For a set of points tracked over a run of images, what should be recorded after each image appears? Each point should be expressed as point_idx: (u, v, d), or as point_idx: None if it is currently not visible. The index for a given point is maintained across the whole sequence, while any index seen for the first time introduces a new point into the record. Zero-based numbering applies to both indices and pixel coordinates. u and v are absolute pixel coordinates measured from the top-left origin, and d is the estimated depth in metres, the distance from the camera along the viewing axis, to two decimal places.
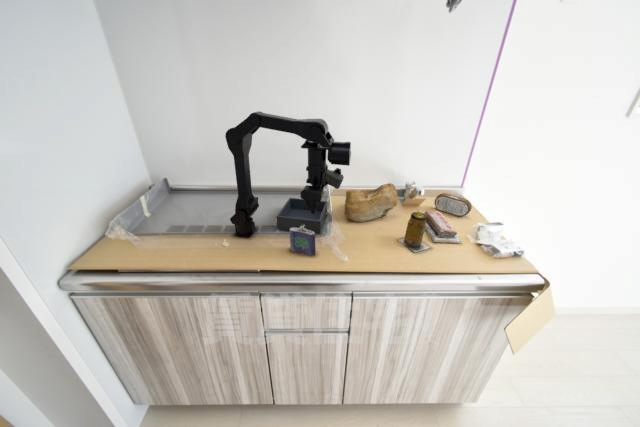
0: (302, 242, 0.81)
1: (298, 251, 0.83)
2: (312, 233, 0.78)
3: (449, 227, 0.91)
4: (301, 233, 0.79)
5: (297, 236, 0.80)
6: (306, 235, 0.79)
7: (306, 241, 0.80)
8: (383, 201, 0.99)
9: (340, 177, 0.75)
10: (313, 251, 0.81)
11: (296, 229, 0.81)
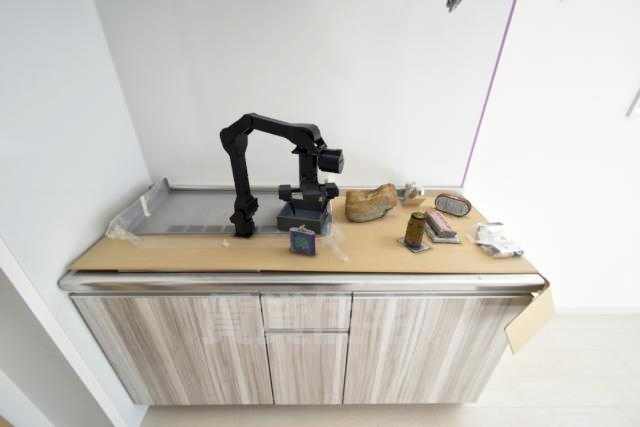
0: (302, 242, 0.81)
1: (298, 251, 0.83)
2: (312, 233, 0.78)
3: (449, 227, 0.91)
4: (301, 233, 0.79)
5: (297, 236, 0.80)
6: (306, 235, 0.79)
7: (306, 241, 0.80)
8: (383, 201, 0.99)
9: (311, 192, 0.67)
10: (313, 251, 0.81)
11: (296, 229, 0.81)
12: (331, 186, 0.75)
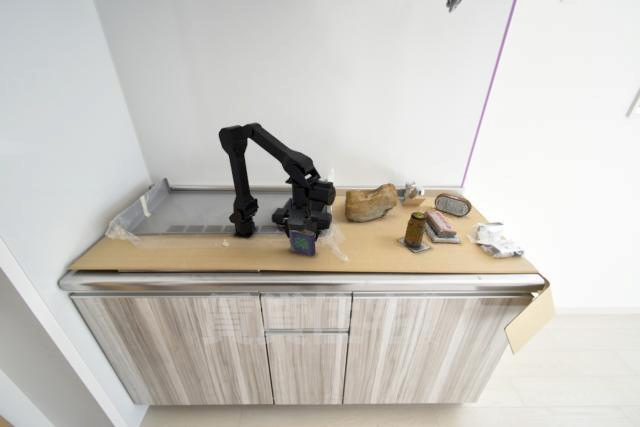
0: (302, 243, 0.81)
1: (298, 251, 0.83)
2: (312, 234, 0.78)
3: (449, 227, 0.91)
4: (301, 234, 0.79)
5: (297, 236, 0.80)
6: (306, 236, 0.78)
7: (306, 242, 0.80)
8: (383, 201, 0.99)
9: (294, 221, 0.69)
10: (313, 251, 0.81)
11: None
12: (323, 217, 0.75)
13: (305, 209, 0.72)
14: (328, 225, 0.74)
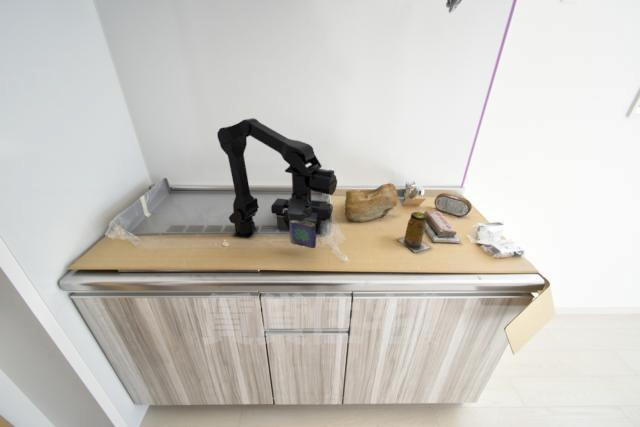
0: (302, 234, 0.79)
1: (298, 243, 0.81)
2: (312, 225, 0.76)
3: (449, 227, 0.91)
4: (301, 225, 0.77)
5: (297, 228, 0.78)
6: (306, 227, 0.77)
7: (306, 233, 0.78)
8: (383, 201, 0.99)
9: (294, 211, 0.68)
10: (313, 243, 0.79)
11: (296, 221, 0.78)
12: (324, 208, 0.73)
13: (305, 199, 0.70)
14: (329, 215, 0.72)
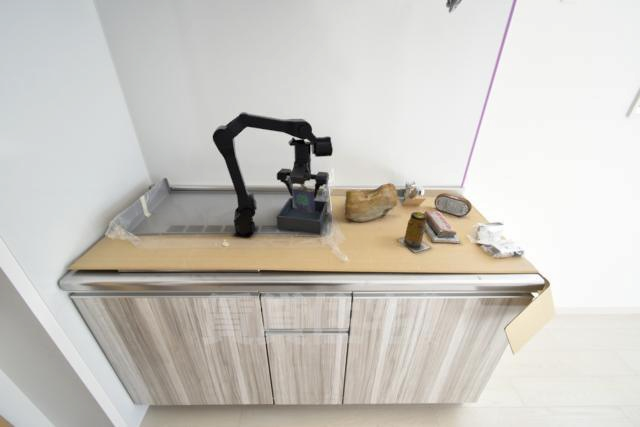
0: (302, 200, 0.92)
1: (300, 208, 0.94)
2: (311, 190, 0.89)
3: (448, 227, 0.91)
4: (302, 191, 0.90)
5: (298, 193, 0.91)
6: (306, 192, 0.90)
7: (306, 198, 0.91)
8: (383, 201, 0.99)
9: (296, 175, 0.81)
10: (312, 207, 0.92)
11: (297, 188, 0.92)
12: (321, 174, 0.86)
13: (305, 166, 0.83)
14: (325, 181, 0.85)
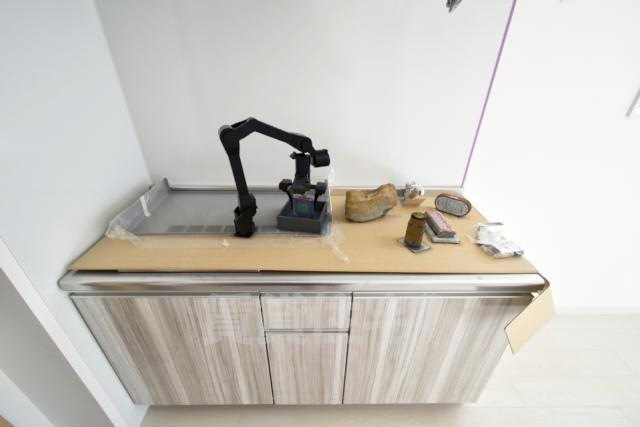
0: (303, 208, 0.98)
1: (300, 215, 1.01)
2: (311, 199, 0.96)
3: (448, 227, 0.91)
4: (302, 199, 0.96)
5: (299, 202, 0.98)
6: (306, 201, 0.96)
7: (306, 206, 0.97)
8: (383, 201, 0.99)
9: (297, 186, 0.87)
10: (312, 214, 0.99)
11: (298, 197, 0.98)
12: (320, 185, 0.92)
13: (305, 177, 0.90)
14: (324, 191, 0.91)
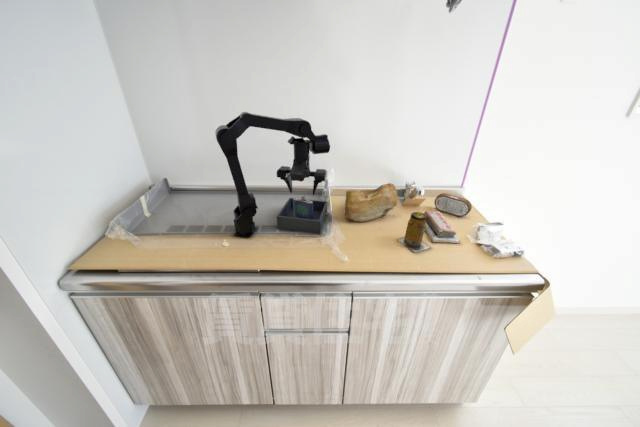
0: (302, 210, 0.99)
1: None
2: (310, 202, 0.96)
3: (448, 227, 0.91)
4: (302, 202, 0.97)
5: (299, 204, 0.98)
6: (305, 203, 0.97)
7: (306, 209, 0.98)
8: (383, 201, 0.99)
9: (295, 172, 0.84)
10: (311, 217, 0.99)
11: (298, 199, 0.99)
12: (319, 172, 0.89)
13: (304, 163, 0.87)
14: (324, 177, 0.88)
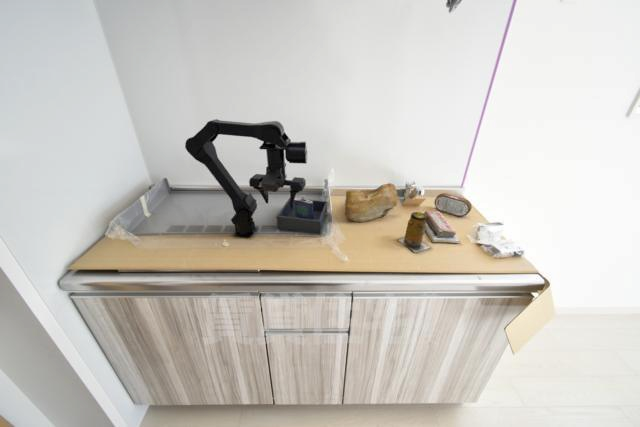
0: (302, 210, 0.99)
1: None
2: (310, 202, 0.96)
3: (448, 227, 0.91)
4: (302, 202, 0.97)
5: (299, 204, 0.98)
6: (305, 203, 0.97)
7: (306, 209, 0.98)
8: (383, 201, 0.99)
9: (268, 182, 0.75)
10: (311, 217, 0.99)
11: (298, 199, 0.99)
12: (296, 181, 0.80)
13: (279, 172, 0.78)
14: (300, 187, 0.79)
